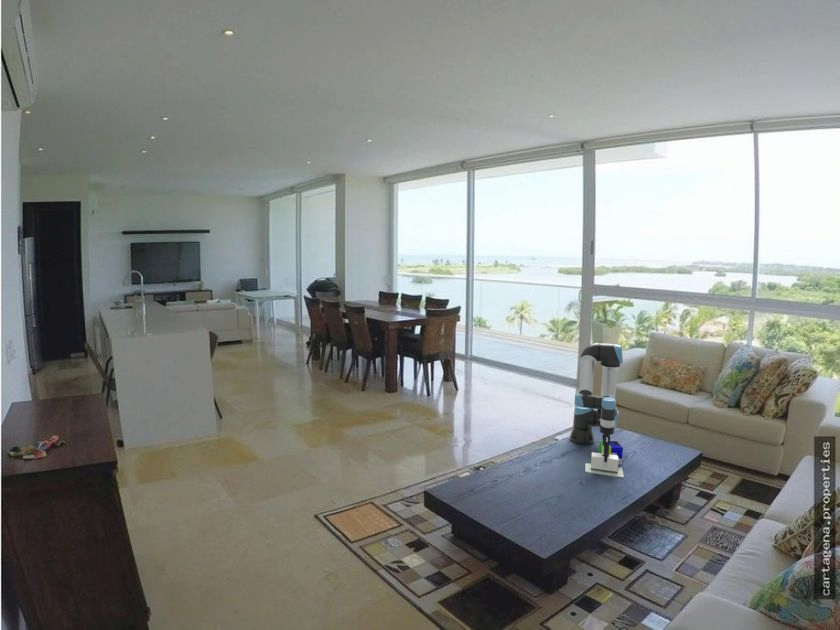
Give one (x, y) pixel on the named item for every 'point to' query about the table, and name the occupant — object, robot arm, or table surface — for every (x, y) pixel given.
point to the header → (603, 471)
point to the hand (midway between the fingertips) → (604, 461)
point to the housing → (598, 462)
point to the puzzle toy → (614, 450)
